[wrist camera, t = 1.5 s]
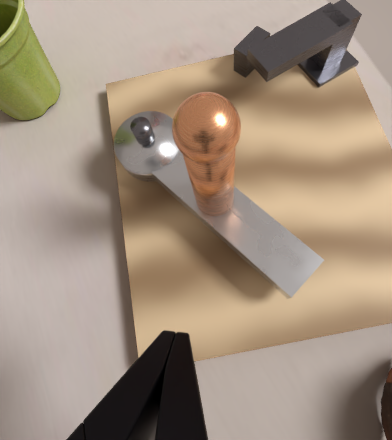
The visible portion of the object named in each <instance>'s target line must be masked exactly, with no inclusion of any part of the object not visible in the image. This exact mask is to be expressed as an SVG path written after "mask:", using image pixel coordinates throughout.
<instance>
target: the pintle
mask: <svg viewBox="0 0 392 440" xmlns="http://www.w3.org/2000/svg"><path fill="white" fill-rule="evenodd" d="M130 128H131V131H132V132H133V134H134V136H135V138H136V140H137V142H138V143H139V144H140V145H144V146H146V145H149V144H151V143H152V142H153V141H154V139H155V134H154V132H153V129H152V127H151V124H150V122H149V120H148V119H147V118H145V117H137V118H135V119H134V120H133V121H132V122H131V125H130Z"/></svg>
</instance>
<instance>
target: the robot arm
mask: <svg viewBox="0 0 392 440" xmlns="http://www.w3.org/2000/svg"><path fill="white" fill-rule="evenodd" d="M83 422H84V424H83V423H81V424H80V425H79V426H78V427H77V428H76V429H75V431H74V432H73V433H72V434H71V435H70V436H69V437H68V438H67V439H66V440H208V436H207V431H206V425H205V420H204V414H203V408H202V403H201V397H200V392H199V386H198V380H197V375H196V369H195V364H194V358H193V353H192V347H191V341H190V336H189V334H188V333H184V332H177V333H176V332H174V331H168V330H164V331H162V332H161V333H160V334H159V335H158V336H157V338H156V339H155V340H154V341H153V342H152V343H151V344H150V346H149V347H148V348H147V349H146V350H145V351H144V352H143V354H142V355H141V356H140V357H139V358H138V359H137V360H136V361H135V363H134V364H133V365H132V366H131V367H130V368H129V369H128V371H127V372H126V373H125V374H124V375H123V376H122V377H121V378H120V380H119V381H118V382H117V383H116V384H115V385H114V386H113V388H112V389H111V390H110V391H109V392H108V393H107V394H106V396H105V397H104V398H103V399H102V400H101V401H100V402H99V403H98V405H97V406H96V407H95V408H94V409H93V410H92V411H91V413H90V414H89V415H88V416H87V417H86V418H85V419H84V421H83Z"/></svg>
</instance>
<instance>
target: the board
mask: <svg viewBox="0 0 392 440" xmlns="http://www.w3.org/2000/svg"><path fill="white" fill-rule="evenodd" d="M346 50H347V49H346ZM106 89H107V98H108V106H109V115H110V123H111V132H112V140H113V148H114V138H115V135H116V132H117V130H118V129H119V127H120V126H121V125H122V123H123V122H124V121H126V120H127V119H128V118H130V117H131V116H133V115H135V114H138V113H141V112H145V111H157V112H161V113H164V114H166V115H168V116H170V117H171V118H172V119H173V118H174V115H175V112H176V111H177V109H178V107H179V106H180V104H181V103H182V102H183V101H184V100H186V99H187V98H188V97H190V96H192V95H194V94H196V93H200V92H213V93H217V94H220V95H222V96H224V97H225V98H227V99H228V100H229V101H230V102H231V103H232V104H233V105H234V107H235V108H236V110H237V112H238V114H239V117H240V121H241V133H240V138H239V141H238V143H237V145H236V149H235V173H234V186H235V187H236V188H237V189H238V190H240V191H241V192H242V193H243V194H244V195H246V196H247V197H248V198H249V199H251V200H252V201H253V202H254V203H255V204H257V205H258V206H259V207H260V208H262V209H263V210H264V211H265V212H266V213H268V214H269V215H270V216H271V217H273V218H274V219H275V220H276V221H277V222H279V223H280V224H281V225H282V226H284V227H285V228H286V229H287V230H288V231H290V232H291V233H292V234H293V235H295V236H296V237H297V238H298V239H299V240H301V241H302V242H303V243H304V244H306V245H307V246H308V247H309V248H310V249H312V250H313V251H314V252H315V253H317V254H318V255H319V256H320V257H321V258H323V259H324V261H323V262H322V263H321V264H320V266H319V267H318V268H317V269H316V270H315V271H314V273H313V274H312V275H311V276H310V277H309V278H308V279H307V281H306V282H305V283H304V284H303V285H302V286H301V287H300V289H299V290H298V291H297V292H296V293H295V294H294V295H293V297H292V298H288V299H287V298H286V297H285V296H284V295H282V294H281V293H280V292H279V291H278V290H277V289H276V288H275V287H273V286H272V285H271V284H270V283H269V282H268V281H267V280H266V279H265V278H263V277H262V276H261V275H260V274H259V273H258V272H257V271H256V270H255V269H253V268H252V267H251V266H250V265H249V264H248V263H247V262H246V261H245V260H243V259H242V258H241V257H240V256H239V255H238V254H237V253H236V252H235V251H233V250H232V249H231V248H230V247H229V246H228V245H227V244H226V243H225V242H223V241H222V240H221V239H220V238H219V237H218V236H217V235H216V234H214V233H213V232H212V231H211V230H210V229H209V228H208V227H207V226H206V225H204V224H203V223H202V222H201V221H200V220H199V219H198V218H197V217H196V216H194V215H193V214H192V213H191V212H190V211H189V210H188V209H187V208H186V207H184V206H183V205H182V204H181V203H180V202H179V201H178V200H177V199H176V198H174V197H173V196H172V195H171V194H170V193H169V192H168V191H167V190H165V189H164V188H163V187H162V186H161V185H160V184H159V183H158V182H157V181H152V182H147V181H141V180H138V179H136V178H134V177H132V176H131V175H130V174H129V173H128V172H127V171H126V169H125V168H124V167H123V165H122V164H121V162H120V161H119V159H118V158H117V156H116V154H115V151H114V157H115V165H116V174H117V182H118V190H119V199H120V207H121V216H122V224H123V232H124V241H125V249H126V258H127V266H128V274H129V283H130V291H131V300H132V308H133V316H134V325H135V333H136V342H137V350H138V358H139V357H140V356H141V355H142V354H143V352H144V351H145V350H146V349H147V348H148V347H149V346H150V344H151V343H152V342H153V341H154V340H155V339H156V338H157V336H158V335H159V334H160V333H161V332H162V331H164V330H168V331H174V332H176V333H177V332H184V333H188V334H189V336H190V341H191V347H192V353H193V358H194V361H199V360H204V359H210V358H215V357H220V356H225V355H230V354H235V353H240V352H245V351H251V350H256V349H261V348H266V347H271V346H276V345H281V344H287V343H292V342H297V341H302V340H307V339H312V338H317V337H322V336H328V335H333V334H338V333H343V332H348V331H353V330H358V329H363V328H369V327H374V326H379V325H384V324H389V323H392V149H391V146H390V144H389V142H388V140H387V138H386V135H385V133H384V131H383V129H382V126H381V124H380V122H379V120H378V118H377V115H376V113H375V111H374V109H373V107H372V104H371V102H370V100H369V98H368V95H367V93H366V91H365V89H364V87H363V84H362V82H361V80H360V78H359V75H358V73H357V71H356V69H355V67H353V68H352V69H350V70H348V71H347V72H345V73H343V74H342V75H340V76H338V77H336V78H335V79H333V80H331V81H330V82H328V83H326V84H324V85H323V86H321V87H318V86H317V85H316V84H315V83H314V82H313V81H312V80H311V79H310V78H309V77H308V76H307V75H306V74H305V72H304V71H303V70H302V69H301V68H300V67H299V66H298V65H296V66H294V67H292V68H291V69H289V70H287V71H285V72H284V73H282V74H280V75H278V76H277V77H275V78H273V79H271V80H270V81H268V82H266V81H265V80H264V79H263V78H262V76H261V75H260V74H259V73H258V72H257V71H256V69H254V70H253V71H252V72H251V73H250V74H249V75H248V76H247V77H246V78H245V77H243V76H242V75H240V74H238V73H237V72H235V71H234V54H232V55H228V56H223V57H219V58H215V59H211V60H206V61H202V62H198V63H193V64H189V65H185V66H181V67H176V68H172V69H168V70H164V71H159V72H155V73H151V74H147V75H142V76H138V77H134V78H130V79H125V80H121V81H117V82H113V83H108V84H106Z"/></svg>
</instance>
